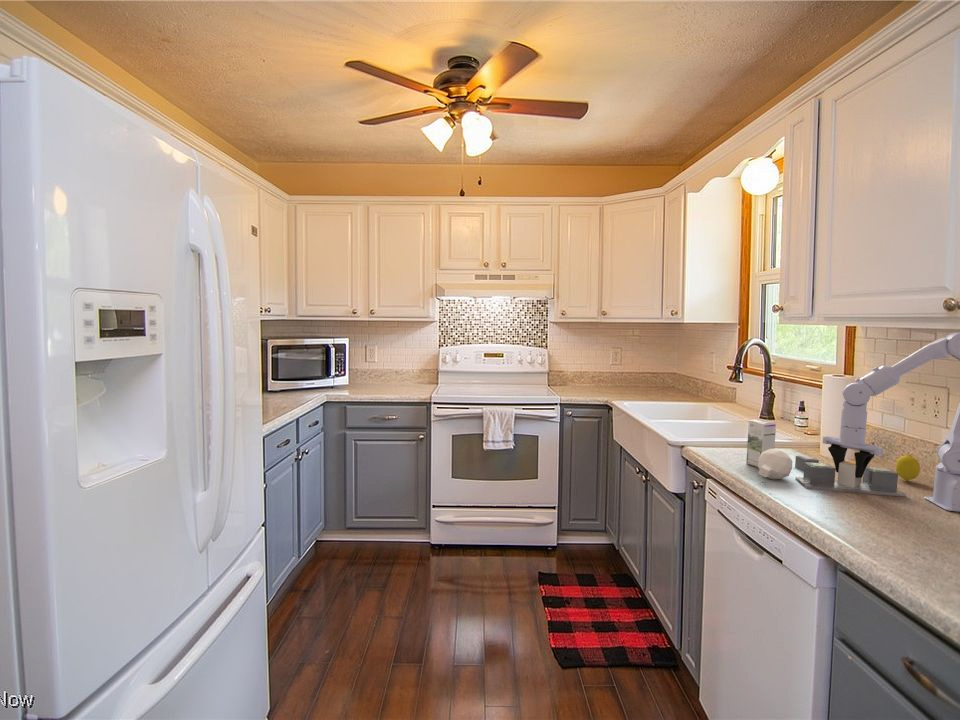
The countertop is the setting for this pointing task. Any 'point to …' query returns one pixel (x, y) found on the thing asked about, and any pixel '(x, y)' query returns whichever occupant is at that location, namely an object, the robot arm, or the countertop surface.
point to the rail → (824, 479)
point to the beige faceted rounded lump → (774, 464)
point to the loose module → (848, 474)
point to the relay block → (801, 459)
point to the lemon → (907, 467)
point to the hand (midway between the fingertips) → (849, 474)
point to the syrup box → (759, 439)
